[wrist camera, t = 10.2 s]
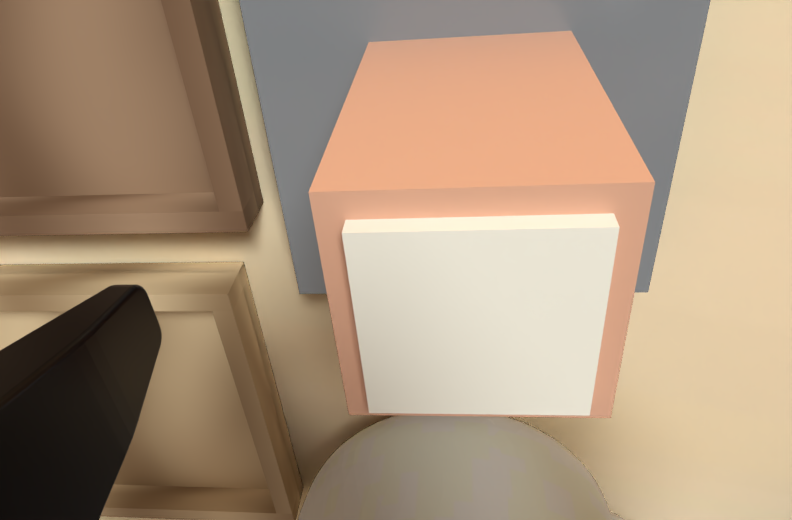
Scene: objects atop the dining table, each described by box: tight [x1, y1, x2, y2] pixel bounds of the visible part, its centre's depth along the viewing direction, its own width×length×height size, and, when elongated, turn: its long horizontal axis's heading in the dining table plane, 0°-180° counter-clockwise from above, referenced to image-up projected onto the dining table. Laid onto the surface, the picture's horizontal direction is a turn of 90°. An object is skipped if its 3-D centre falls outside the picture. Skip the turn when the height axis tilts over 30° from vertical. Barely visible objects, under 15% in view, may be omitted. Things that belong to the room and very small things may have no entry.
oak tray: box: [0, 262, 303, 520], centre depth 21 cm, size 11×11×2 cm
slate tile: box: [239, 0, 710, 294], centre depth 14 cm, size 9×9×2 cm
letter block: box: [308, 31, 655, 418], centre depth 11 cm, size 4×4×6 cm
